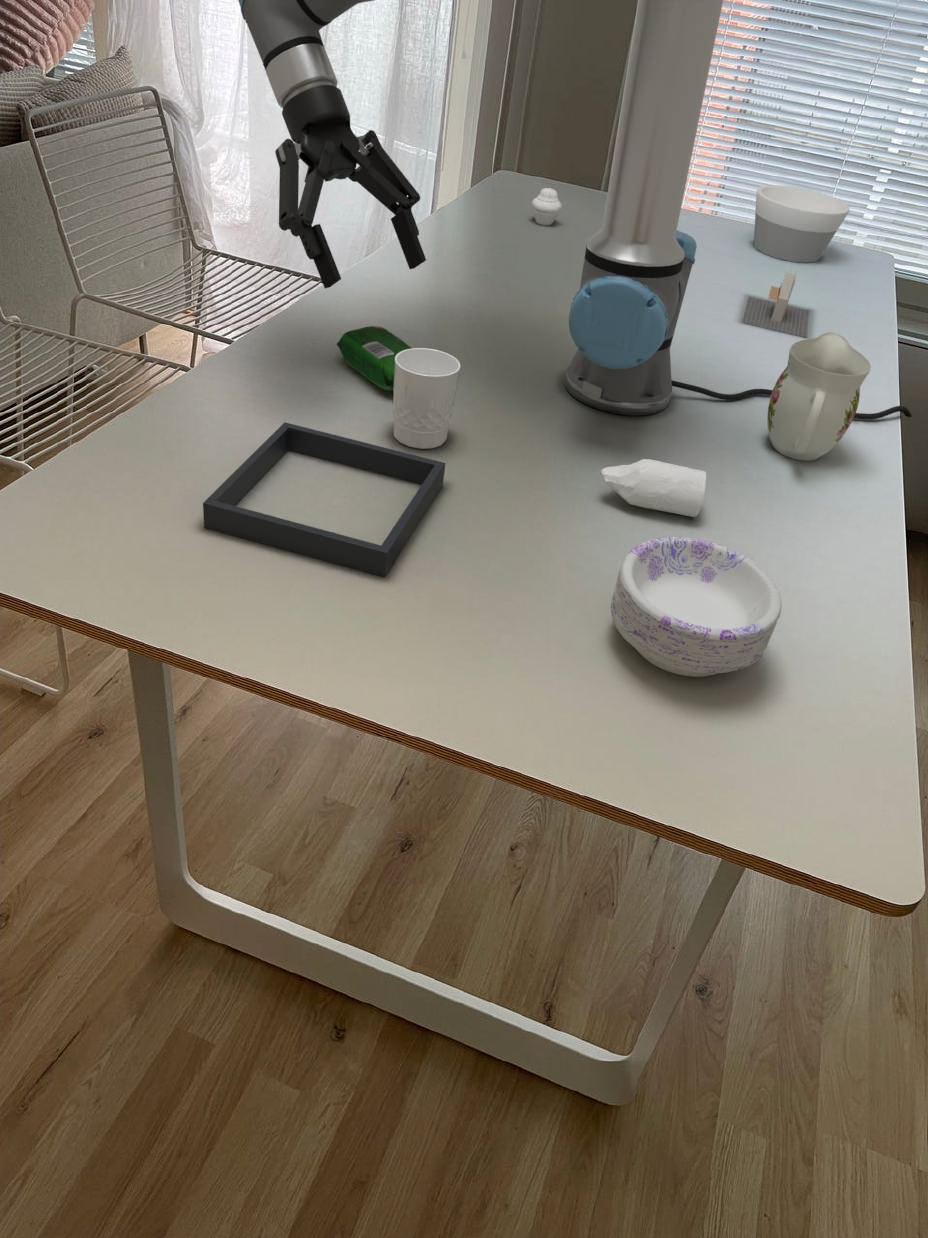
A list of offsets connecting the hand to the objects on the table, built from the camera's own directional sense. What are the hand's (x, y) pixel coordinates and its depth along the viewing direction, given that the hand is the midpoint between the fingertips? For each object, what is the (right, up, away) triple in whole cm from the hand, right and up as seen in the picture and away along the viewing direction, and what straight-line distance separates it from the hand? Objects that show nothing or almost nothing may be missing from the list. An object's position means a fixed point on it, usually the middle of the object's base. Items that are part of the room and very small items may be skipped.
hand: (377, 274), depth 118 cm
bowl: (+79, +37, +89) cm, 125 cm away
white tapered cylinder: (+32, -28, -2) cm, 43 cm away
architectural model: (+67, +12, +56) cm, 88 cm away
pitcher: (+56, -19, +14) cm, 61 cm away
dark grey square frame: (-4, -29, -11) cm, 32 cm away
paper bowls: (+32, -45, -23) cm, 59 cm away
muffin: (+27, +40, +83) cm, 96 cm away
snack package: (-1, -9, +16) cm, 18 cm away
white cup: (+5, -19, +4) cm, 20 cm away
